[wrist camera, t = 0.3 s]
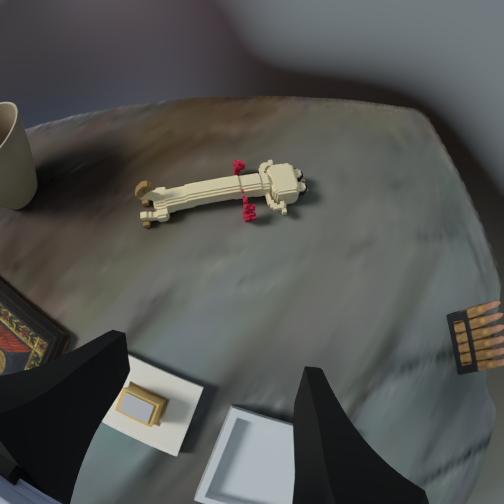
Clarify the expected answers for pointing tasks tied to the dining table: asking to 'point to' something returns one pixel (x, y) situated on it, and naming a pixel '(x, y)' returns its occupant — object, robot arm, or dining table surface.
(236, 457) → the parts tray
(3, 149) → the plant pot
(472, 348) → the ammunition clip
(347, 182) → the dining table surface
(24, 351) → the framed painting
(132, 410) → the block
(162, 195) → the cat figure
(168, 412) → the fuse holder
